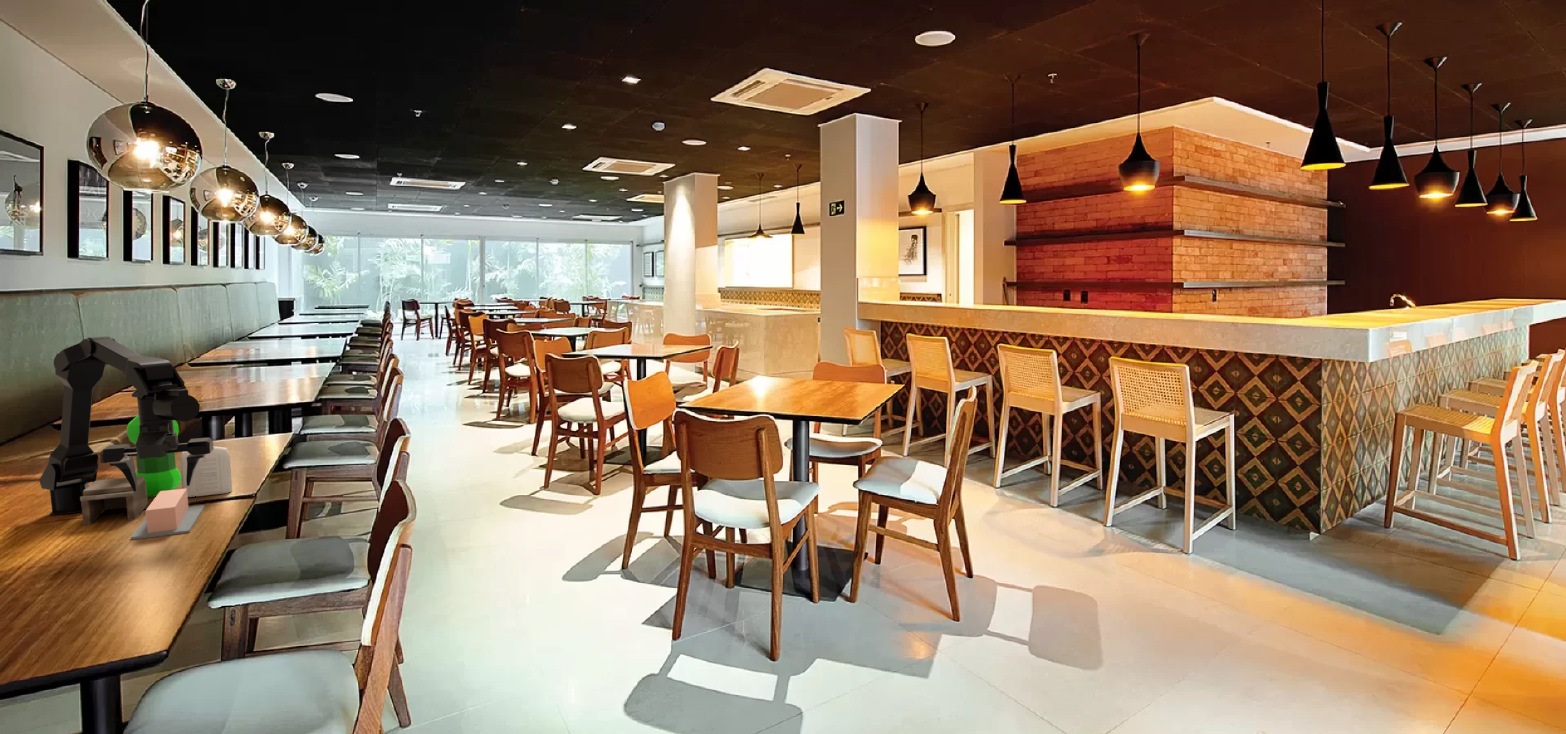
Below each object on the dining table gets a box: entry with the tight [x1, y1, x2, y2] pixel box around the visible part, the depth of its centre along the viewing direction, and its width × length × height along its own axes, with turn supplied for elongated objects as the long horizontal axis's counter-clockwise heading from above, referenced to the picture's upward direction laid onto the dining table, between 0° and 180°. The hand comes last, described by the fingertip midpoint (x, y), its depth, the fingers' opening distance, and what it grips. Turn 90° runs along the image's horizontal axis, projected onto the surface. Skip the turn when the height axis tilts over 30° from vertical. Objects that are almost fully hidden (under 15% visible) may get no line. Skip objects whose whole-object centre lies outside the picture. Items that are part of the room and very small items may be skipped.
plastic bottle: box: [126, 414, 182, 498], centre depth 197 cm, size 10×10×25 cm
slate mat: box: [130, 504, 206, 540], centre depth 176 cm, size 10×21×1 cm, turn 29°
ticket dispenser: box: [80, 476, 149, 526], centre depth 181 cm, size 9×14×7 cm, turn 29°
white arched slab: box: [179, 445, 233, 498], centre depth 198 cm, size 10×4×12 cm, turn 123°
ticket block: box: [145, 488, 189, 533], centre depth 176 cm, size 5×17×5 cm, turn 30°
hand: (162, 488), depth 171 cm, fingers open, 9 cm apart
